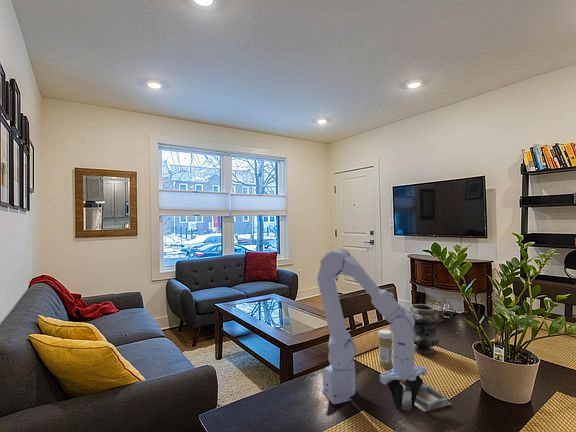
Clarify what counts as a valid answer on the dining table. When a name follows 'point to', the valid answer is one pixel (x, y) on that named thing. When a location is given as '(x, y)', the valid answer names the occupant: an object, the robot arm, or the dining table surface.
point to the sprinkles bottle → (385, 349)
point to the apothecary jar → (425, 329)
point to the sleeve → (406, 398)
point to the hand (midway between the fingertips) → (404, 404)
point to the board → (429, 398)
